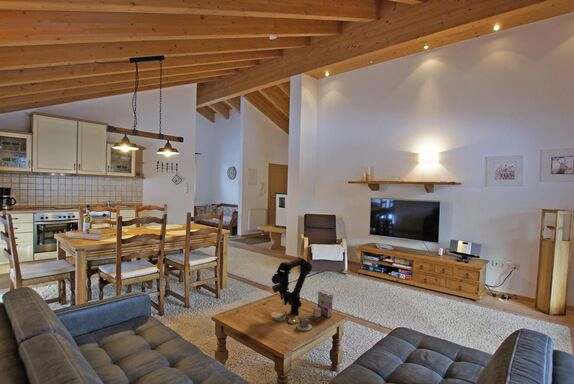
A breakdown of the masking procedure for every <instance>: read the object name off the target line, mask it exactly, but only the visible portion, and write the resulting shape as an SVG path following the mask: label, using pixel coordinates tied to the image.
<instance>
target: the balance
mask: <svg viewBox="0 0 574 384" xmlns="http://www.w3.org/2000/svg"><path fill="white" fill-rule="evenodd" d="M313 316H314V317H315V321H319V319H318V318H319V317H321V316H322V315H315V314H314V313H309V314H306V315H303V316H299V317H297V319H296V318H294V317H291V318H288V324H290V325H297V320H299V321H300V317H307V318H308V317H313Z"/></svg>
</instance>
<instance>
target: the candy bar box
mask: <svg viewBox="0 0 574 384" xmlns="http://www.w3.org/2000/svg"><path fill="white" fill-rule="evenodd" d="M333 297H334V295H333V294H332V293H330V292H328V291H326V290H323V289H322V290H318V291H317V307H320V309H321V316H323V317H325V318H330V317H332V315H333V301H334V300H333V299H334V298H333Z"/></svg>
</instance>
